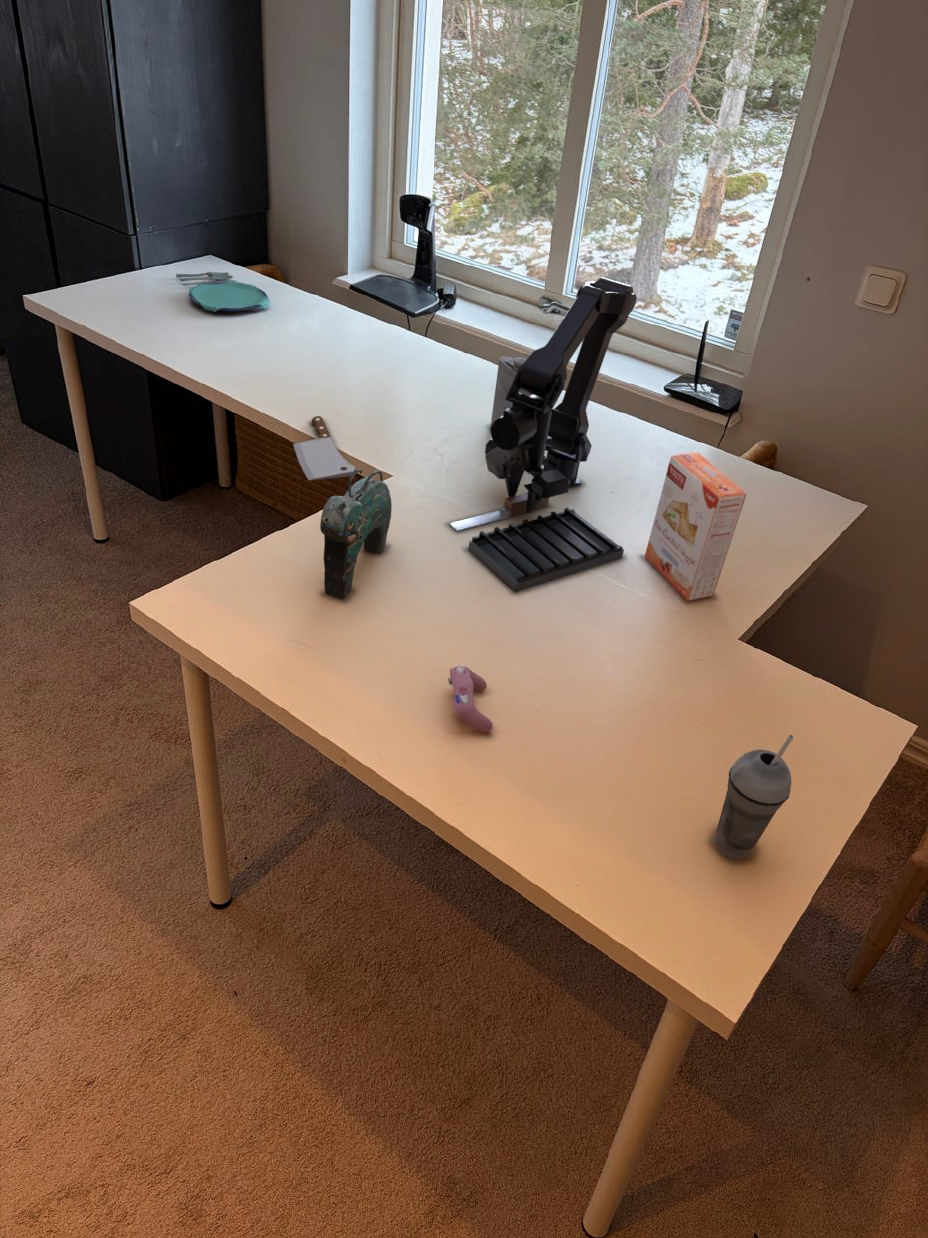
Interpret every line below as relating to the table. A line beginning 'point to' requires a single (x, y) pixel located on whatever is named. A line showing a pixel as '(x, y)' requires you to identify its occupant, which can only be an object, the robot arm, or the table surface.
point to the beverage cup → (752, 800)
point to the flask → (505, 384)
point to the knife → (499, 512)
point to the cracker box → (694, 525)
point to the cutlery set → (224, 293)
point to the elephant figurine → (353, 529)
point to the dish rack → (543, 549)
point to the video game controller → (468, 698)
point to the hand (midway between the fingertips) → (520, 505)
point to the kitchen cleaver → (322, 455)
